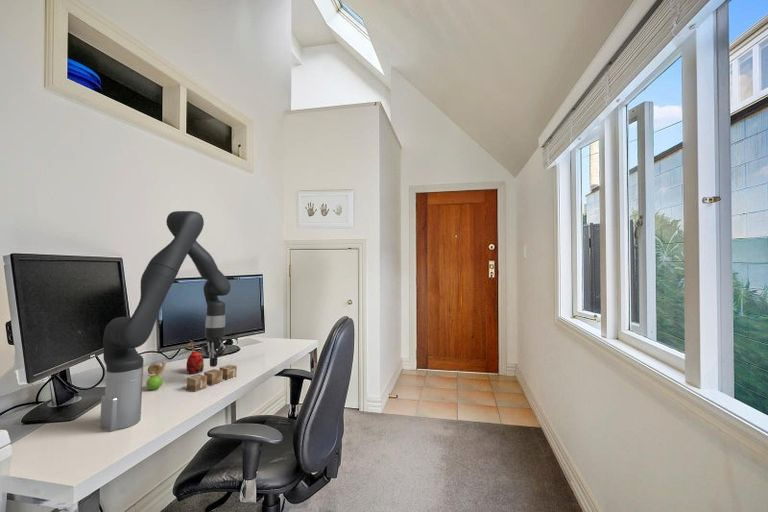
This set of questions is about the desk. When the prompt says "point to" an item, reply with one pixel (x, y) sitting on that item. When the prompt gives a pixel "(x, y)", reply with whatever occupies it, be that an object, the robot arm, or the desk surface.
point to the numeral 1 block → (196, 382)
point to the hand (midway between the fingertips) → (213, 366)
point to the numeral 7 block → (229, 371)
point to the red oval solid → (194, 362)
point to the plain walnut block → (214, 376)
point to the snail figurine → (155, 375)
